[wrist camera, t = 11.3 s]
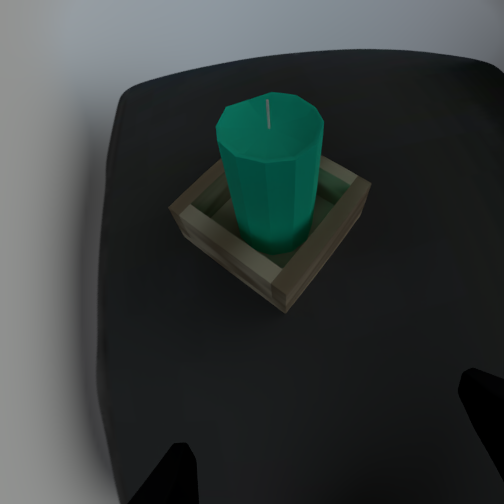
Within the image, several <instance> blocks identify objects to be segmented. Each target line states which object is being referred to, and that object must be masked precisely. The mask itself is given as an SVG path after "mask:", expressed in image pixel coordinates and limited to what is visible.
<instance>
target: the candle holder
mask: <svg viewBox="0 0 504 504" xmlns="http://www.w3.org/2000/svg"><path fill="white" fill-rule="evenodd" d="M371 184H372V183H370V182H368V181H366V180H365V179H363V178H361V177H360V176H358V175H356V174H354V173H353V172H351V171H349V170H347V169H346V168H344V167H342V166H340V165H339V164H337V163H335V162H333V161H331V160H329V159H328V158H326V157H324V156H322V155H321V158H320V166H319V175H318V183H317V191H316V199H315V206H314V214H313V221H312V225H311V229H310V232H309V235H308V238H307V240H306V241H305V242H303V243H302V244H301V245H300V246H299V247H297V248H296V249H295V250H294V251H292V252H288V253H282V254H277V255H269V254H266V253H263V252H259V251H256V250H255V249H253V248H252V247H250V246H249V245H248V244H247V243H246V242H245V240H244V239H243V238H242V237H241V235H240V231H239V227H238V223H237V219H236V215H235V211H234V207H233V203H232V199H231V195H230V191H229V187H228V183H227V179H226V174H225V170H224V166H223V162H222V158H221V159H220V160H218V161H217V162H216V163H215V164H214V165H213V166H212V167H211V168H210V169H208V170H207V171H206V172H205V173H204V174H203V175H202V176H201V177H200V178H199V179H198V180H197V181H195V182H194V183H193V184H192V185H191V186H190V187H189V188H188V189H187V190H186V191H185V192H184V193H183V194H182V195H181V196H180V197H179V198H178V199H176V200H175V201H174V202H173V203H172V204H171V205H170V206H169V207H168V208H169V210H170V212H171V214H172V215H173V217H174V219H175V221H176V223H177V224H178V226H179V228H180V230H181V232H182V234H183V235H184V237H185V238H187V239H188V240H189V241H190V242H192V243H193V244H194V245H196V246H197V247H198V248H199V249H201V250H202V251H203V252H205V253H206V254H207V255H208V256H210V257H211V258H212V259H214V260H215V261H216V262H217V263H219V264H220V265H221V266H223V267H224V268H225V269H227V270H228V271H229V272H231V273H232V274H233V275H234V276H236V277H237V278H238V279H240V280H241V281H242V282H244V283H245V284H246V285H248V286H249V287H250V288H252V289H253V290H254V291H256V292H257V293H258V294H260V295H261V296H262V297H264V298H265V299H266V300H268V301H269V302H270V303H272V304H273V305H274V306H276V307H277V308H278V309H280V310H281V311H282V312H284V313H285V314H286V313H287V311H288V310H289V309H290V308H291V306H292V305H293V304H294V303H295V301H296V300H297V299H298V298H299V296H300V295H301V294H302V293H303V291H304V290H305V289H306V287H307V286H308V285H309V284H310V282H311V281H312V280H313V278H314V277H315V276H316V275H317V273H318V272H319V271H320V269H321V268H322V267H323V265H324V264H325V263H326V261H327V260H328V259H329V257H330V256H331V255H332V254H333V252H334V251H335V249H336V248H337V247H338V245H339V244H340V243H341V241H342V240H343V239H344V237H345V236H346V235H347V233H348V232H349V231H350V229H351V228H352V226H353V225H354V224H355V222H356V221H357V219H358V218H359V217H360V215H361V212H362V209H363V207H364V204H365V201H366V198H367V195H368V192H369V189H370V187H371Z"/></svg>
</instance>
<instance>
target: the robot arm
mask: <svg viewBox="0 0 504 504" xmlns="http://www.w3.org/2000/svg"><path fill="white" fill-rule="evenodd" d="M458 394H459V397H460V399H461V401H462V403H463V405H464V407H465V410H466V412H467V414H468V416H469V418H470V421H471V423H472V425H473V427H474V429H475V431H476V432H477V434H478V436H479V438H480V439H481V441H482V443H483V445H484V446H485V448H486V450H487V452H488V453H489V455H490V457H491V459H492V461H493V462H494V464H495V466H496V468H497V470H498V472H499V473H500V475H501V477H502V479H503V481H504V379H502V378H500V377H497V376H494V375H491V374H489V373H486V372H483V371H481V370H478V369H476V368H470V369H468V370H466V371H464V372H463V373H462V376H461V380H460V384H459V387H458ZM128 504H199V496H198V480H197V463H196V458H195V456H194V454H193V452H192V451H191V449H190V447H189V445H188V444H187V443H174V444H173V445H172V446H171V447H170V449H169V450H168V451H167V453H166V454H165V455H164V457H163V458H162V459H161V461H160V462H159V463H158V465H157V466H156V467H155V469H154V470H153V471H152V473H151V474H150V475H149V477H148V478H147V479H146V480H145V482H144V483H143V484H142V486H141V487H140V488H139V490H138V491H137V492H136V493H135V495H134V496H133V497H132V498H131V500H130V501H129V502H128Z"/></svg>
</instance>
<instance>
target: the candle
mask: <svg viewBox="0 0 504 504" xmlns="http://www.w3.org/2000/svg"><path fill="white" fill-rule="evenodd" d="M323 129H324V121H323V119H322V117H321V116H320V114H319V112H318V111H317V109H316V107H314V106H313V105H311V104H310V103H308V102H307V101H305V100H303V99H302V98H300V97H299V96H297V95H292V94H284V93H276V92H270V93H267V94H264V95H261V96H258V97H255V98H252V99H249V100H246V101H243V102H240V103H236V104H233V105H230V106H227V107H226V108H225V110H224V112H223V114H222V116H221V117H220V119H219V121H218V123H217V125H216V134H217V142H218V146H219V150H220V154H221V158H222V162H223V166H224V170H225V174H226V179H227V183H228V187H229V191H230V195H231V199H232V203H233V207H234V211H235V215H236V219H237V223H238V227H239V231H240V235H241V237H242V238H243V239H244V240H245V242H246V243H247V244H248V245H249V246H250V247H252V248H253V249H255V250H256V251H259V252H263V253H266V254H269V255H277V254H282V253H288V252H292V251H294V250H295V249H296V248H297V247H299V246H300V245H301V244H302V243H303V242H305V241H306V240H307V238H308V235H309V232H310V229H311V225H312V221H313V214H314V206H315V199H316V191H317V183H318V175H319V166H320V158H321V148H322V139H323Z"/></svg>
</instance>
